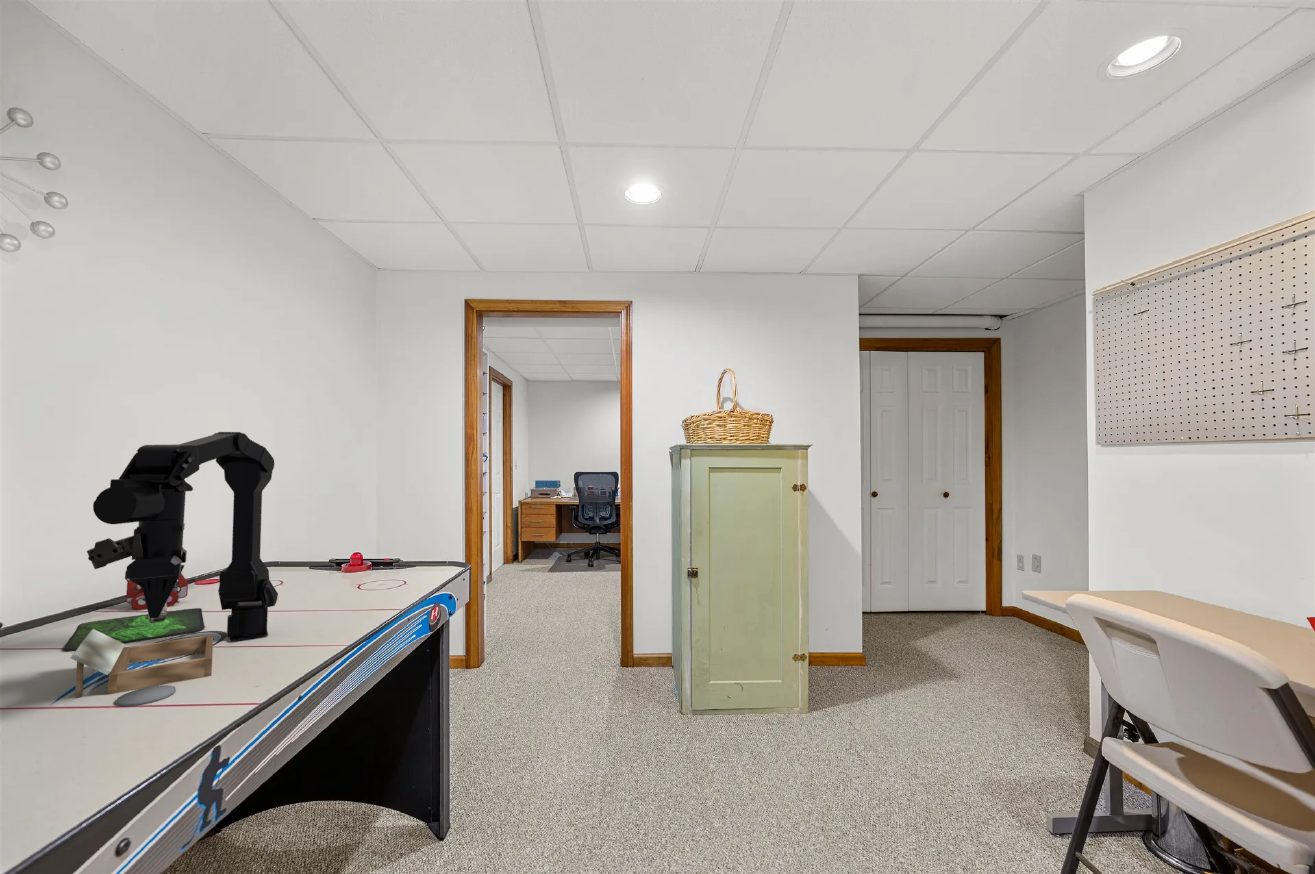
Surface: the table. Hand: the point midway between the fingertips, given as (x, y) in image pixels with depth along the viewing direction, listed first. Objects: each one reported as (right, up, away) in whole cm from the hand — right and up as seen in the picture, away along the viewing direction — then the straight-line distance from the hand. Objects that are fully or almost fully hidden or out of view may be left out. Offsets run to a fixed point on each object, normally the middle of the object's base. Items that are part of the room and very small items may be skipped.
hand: (156, 613), depth 93 cm
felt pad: (+2, -12, -4) cm, 13 cm away
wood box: (-7, -12, +6) cm, 15 cm away
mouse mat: (-34, -14, +33) cm, 50 cm away
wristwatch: (0, -2, 0) cm, 2 cm away
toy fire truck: (-47, -15, +52) cm, 72 cm away
